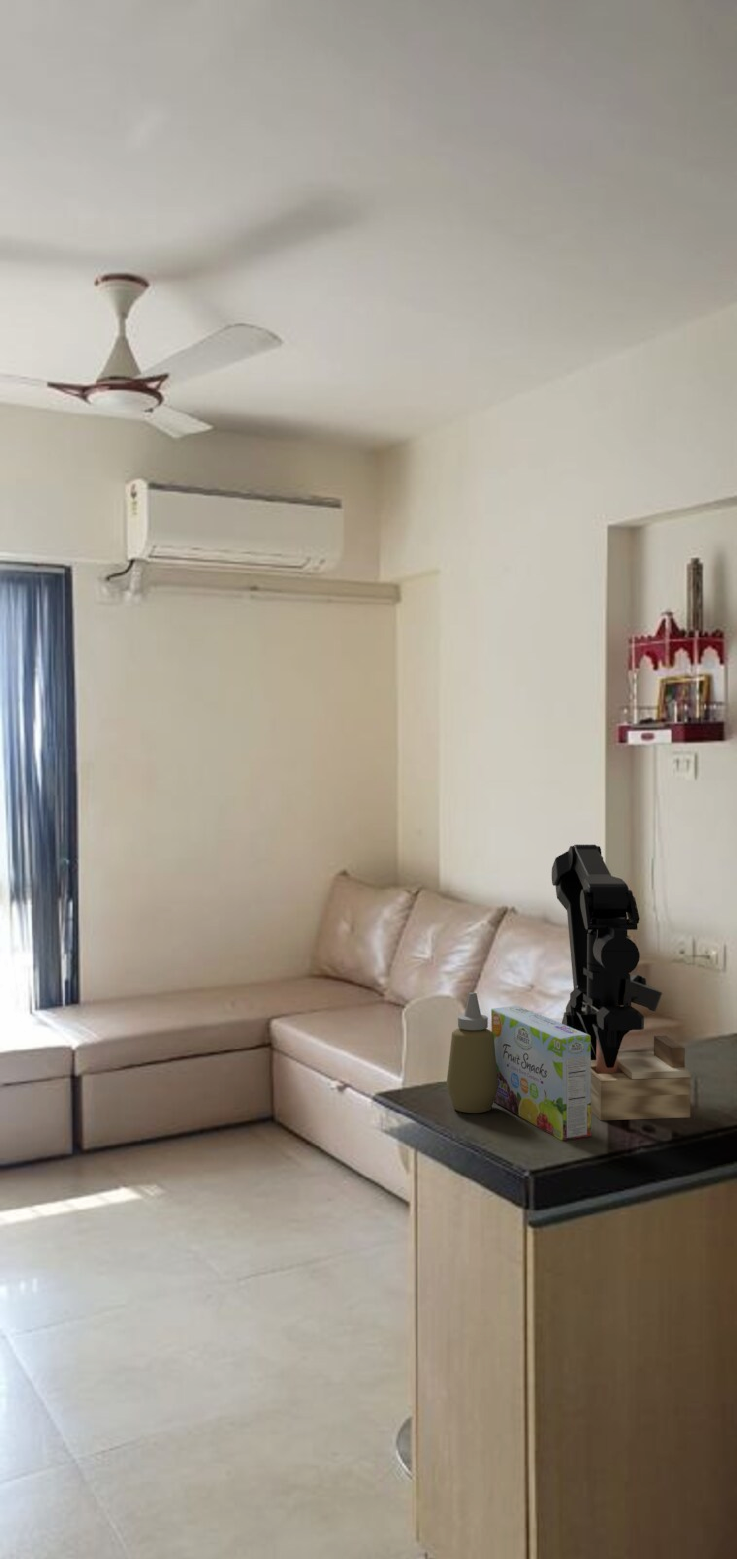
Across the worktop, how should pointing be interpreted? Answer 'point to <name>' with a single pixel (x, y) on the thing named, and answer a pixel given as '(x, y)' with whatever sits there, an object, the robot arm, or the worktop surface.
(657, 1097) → the wooden box
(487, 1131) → the worktop surface
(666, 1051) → the lid
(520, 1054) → the snack box
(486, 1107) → the squeeze bottle
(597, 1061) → the key peg
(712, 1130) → the worktop surface
